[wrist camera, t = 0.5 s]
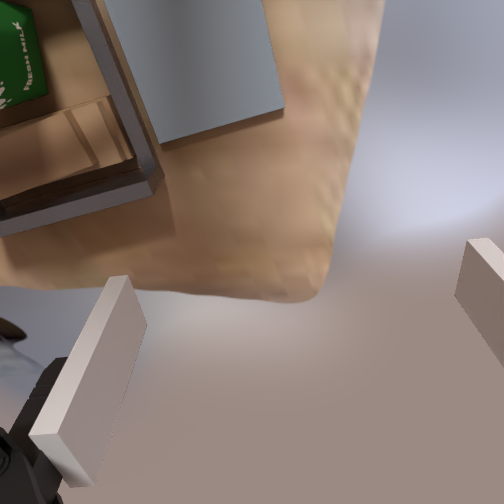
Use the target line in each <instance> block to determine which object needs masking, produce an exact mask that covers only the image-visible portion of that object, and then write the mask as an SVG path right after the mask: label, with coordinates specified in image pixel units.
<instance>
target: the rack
mask: <svg viewBox="0 0 504 504" xmlns="http://www.w3.org/2000/svg"><path fill="white" fill-rule="evenodd" d="M71 1H72V4H73V6H74V9H75V11H76V13H77V16H78V18H79V20H80V23H81V25H82V27H83V30H84V32H85V35H86V37H87V39H88V42H89V44H90V46H91V49H92V51H93V53H94V56H95V58H96V61H97V63H98V65H99V68H100V70H101V72H102V75H103V77H104V80H105V82H106V84H107V87H108V89H109V91H110V94H111V96H112V98H113V101H114V103H115V106H116V108H117V110H118V113H119V115H120V117H121V120H122V122H123V124H124V127H125V129H126V132H127V134H128V136H129V139H130V141H131V143H132V146H133V148H134V150H135V153H136V155H137V158H138V160H139V162H140V165H141V167H142V168H139V169H136V170H132V171H129V172H125V173H122V174H118V175H114V176H111V177H107V178H104V179H100V180H97V181H93V182H90V183H86V184H83V185H79V186H76V187H72V188H69V189H65V190H62V191H58V192H55V193H51V194H48V195H44V196H41V197H37V198H34V199H30V200H27V201H23V202H20V203H16V204H13V205H9V206H6V207H3V205H2V204H1V202H0V237H4V236H8V235H11V234H15V233H18V232H22V231H26V230H29V229H33V228H37V227H40V226H44V225H48V224H51V223H55V222H58V221H62V220H66V219H69V218H73V217H77V216H80V215H84V214H88V213H91V212H95V211H98V210H102V209H106V208H109V207H113V206H117V205H120V204H124V203H128V202H131V201H135V200H138V199H142V198H146V197H149V196H153V195H154V193H155V192H156V190H157V188H158V186H159V185H160V183H161V181H162V180H163V178H164V176H165V175H164V173H163V170H162V168H161V165H160V163H159V160H158V158H157V155H156V153H155V150H154V148H153V145H152V143H151V140H150V138H149V135H148V133H147V130H146V127H145V125H144V122H143V120H142V117H141V115H140V112H139V110H138V107H137V105H136V102H135V100H134V97H133V95H132V92H131V90H130V87H129V85H128V82H127V80H126V77H125V75H124V72H123V70H122V67H121V65H120V62H119V59H118V57H117V54H116V52H115V49H114V47H113V44H112V42H111V39H110V37H109V34H108V32H107V29H106V27H105V24H104V22H103V19H102V17H101V14H100V12H99V9H98V7H97V4H96V2H95V0H71Z"/></svg>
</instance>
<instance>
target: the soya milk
mask: <svg viewBox="0 0 504 504" xmlns="http://www.w3.org/2000/svg"><path fill="white" fill-rule="evenodd" d="M46 94H48V90H47V85H46V80H45V75H44V70H43V65H42V60H41V55H40V50H39V45H38V40H37V35H36V30H35V24H34V19H33V14H32V10H31V9H28V8H25V7H22V6H19V5H16V4H13V3H9V2H6V1H3V0H0V109H4V108H7V107H10V106H13V105H16V104H19V103H22V102H25V101H28V100H31V99H34V98H37V97H40V96H43V95H46Z"/></svg>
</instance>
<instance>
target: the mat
mask: <svg viewBox="0 0 504 504" xmlns="http://www.w3.org/2000/svg"><path fill="white" fill-rule="evenodd" d="M104 2H105V5H106V8H107V10H108V13H109V15H110V18H111V20H112V23H113V26H114V28H115V31H116V33H117V36H118V38H119V41H120V44H121V46H122V49H123V51H124V54H125V57H126V59H127V62H128V64H129V67H130V69H131V72H132V75H133V77H134V80H135V82H136V85H137V87H138V90H139V93H140V95H141V98H142V100H143V103H144V106H145V108H146V111H147V113H148V116H149V118H150V121H151V124H152V126H153V129H154V131H155V134H156V137H157V139H158V142H159V144H161V143H164V142H168V141H171V140H174V139H178V138H181V137H185V136H188V135H192V134H195V133H199V132H202V131H205V130H209V129H212V128H216V127H219V126H223V125H226V124H230V123H233V122H236V121H240V120H243V119H247V118H250V117H254V116H257V115H261V114H264V113H267V112H271V111H274V110H278V109H281V108H285V106H284V101H283V97H282V92H281V88H280V83H279V79H278V74H277V69H276V65H275V60H274V56H273V51H272V46H271V42H270V37H269V33H268V28H267V24H266V19H265V14H264V10H263V5H262V1H261V0H104Z"/></svg>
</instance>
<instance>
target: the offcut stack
mask: <svg viewBox="0 0 504 504" xmlns="http://www.w3.org/2000/svg"><path fill="white" fill-rule="evenodd" d="M135 155H136V153H135V150H134V148H133V146H132V143H131V141H130V139H129V136H128V134H127V132H126V129H125V127H124V124H123V122H122V120H121V117H120V115H119V113H118V110H117V108H116V106H115V103H114V101H113V98H112V96H111V95H108V96H105V97H102V98H99V99H95V100H92V101H89V102H86V103H83V104H79V105H76V106H73V107H70V108H66V109H63V110H60V111H57V112H53V113H50V114H47V115H44V116H41V117H37V118H34V119H31V120H28V121H24V122H21V123H18V124H15V125H12V126H8V127H5V128H2V129H0V200H2V199H5V198H7V197H10V196H13V195H15V194H18V193H21V192H23V191H26V190H29V189H31V188H34V187H37V186H41V185H44V184H47V183H51V182H54V181H58V180H61V179H65V178H68V177H72V176H75V175H79V174H82V173H86V172H89V171H93V170H96V169H100V168H103V167H106V166H110V165H113V164H117V163H120V162H123V161H124V160H128V159H131V158H133V157H134V156H135Z"/></svg>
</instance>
